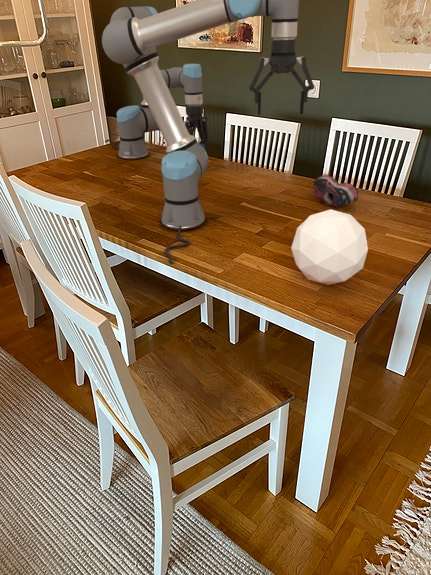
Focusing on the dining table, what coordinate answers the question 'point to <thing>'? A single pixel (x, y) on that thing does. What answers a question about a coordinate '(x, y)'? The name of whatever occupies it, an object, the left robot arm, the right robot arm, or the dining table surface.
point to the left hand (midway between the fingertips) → (196, 158)
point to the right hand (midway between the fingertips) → (280, 113)
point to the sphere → (330, 247)
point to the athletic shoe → (334, 191)
